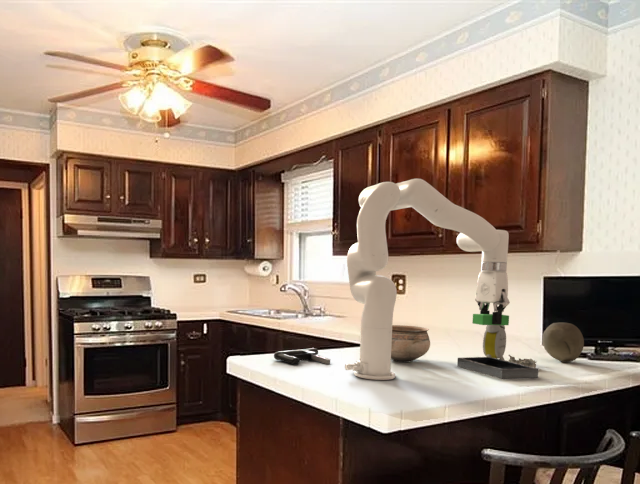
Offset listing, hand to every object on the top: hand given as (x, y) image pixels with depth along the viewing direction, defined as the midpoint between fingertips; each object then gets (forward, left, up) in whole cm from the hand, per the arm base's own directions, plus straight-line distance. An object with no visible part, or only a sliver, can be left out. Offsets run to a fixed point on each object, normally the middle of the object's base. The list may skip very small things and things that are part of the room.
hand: (490, 322), depth 177 cm
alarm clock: (+19, +19, -17) cm, 32 cm away
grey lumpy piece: (+19, +6, -17) cm, 27 cm away
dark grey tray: (+3, 0, -17) cm, 17 cm away
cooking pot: (-16, +26, -17) cm, 35 cm away
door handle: (-53, +29, -17) cm, 63 cm away
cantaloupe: (+47, +17, -17) cm, 53 cm away
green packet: (0, 0, -1) cm, 1 cm away
